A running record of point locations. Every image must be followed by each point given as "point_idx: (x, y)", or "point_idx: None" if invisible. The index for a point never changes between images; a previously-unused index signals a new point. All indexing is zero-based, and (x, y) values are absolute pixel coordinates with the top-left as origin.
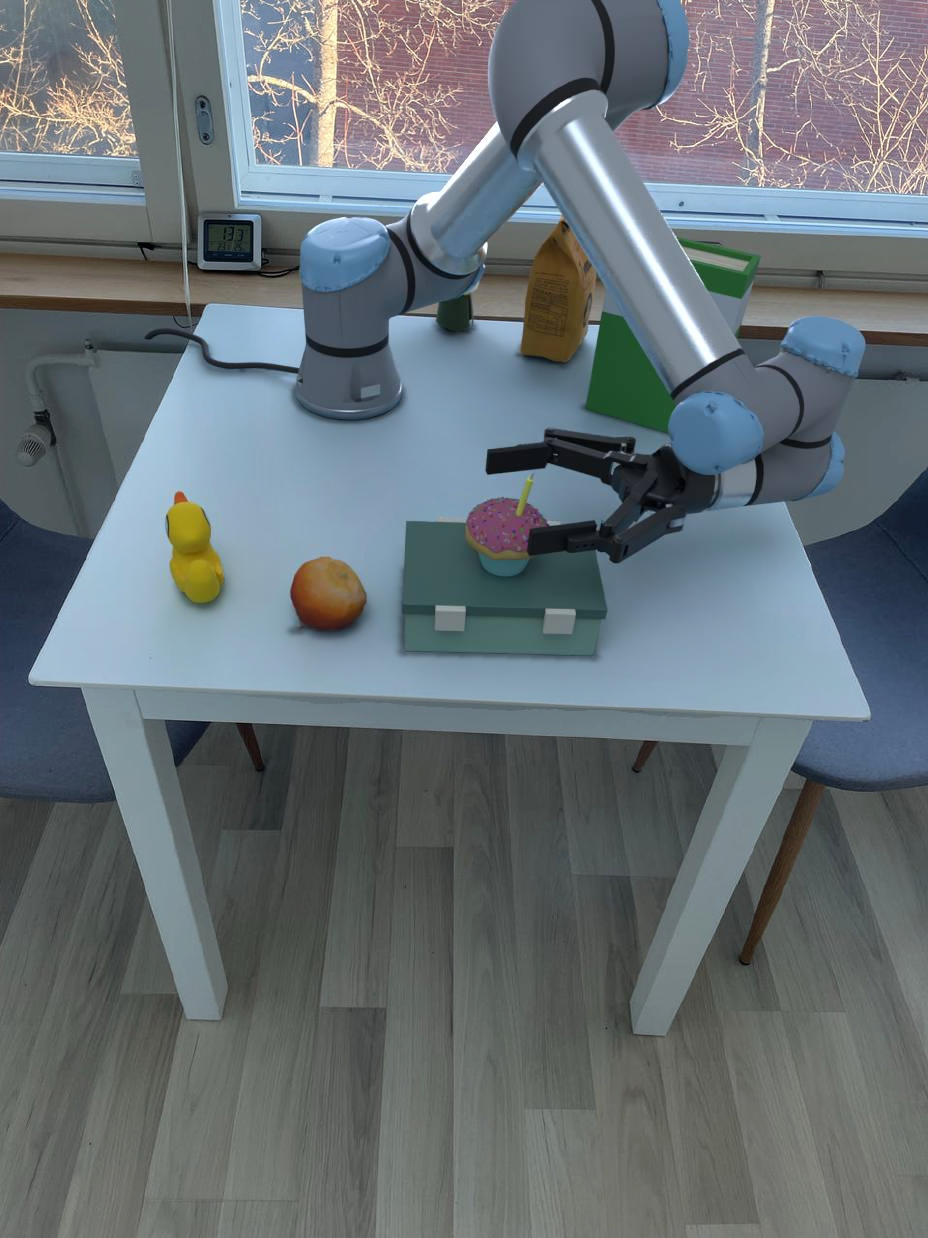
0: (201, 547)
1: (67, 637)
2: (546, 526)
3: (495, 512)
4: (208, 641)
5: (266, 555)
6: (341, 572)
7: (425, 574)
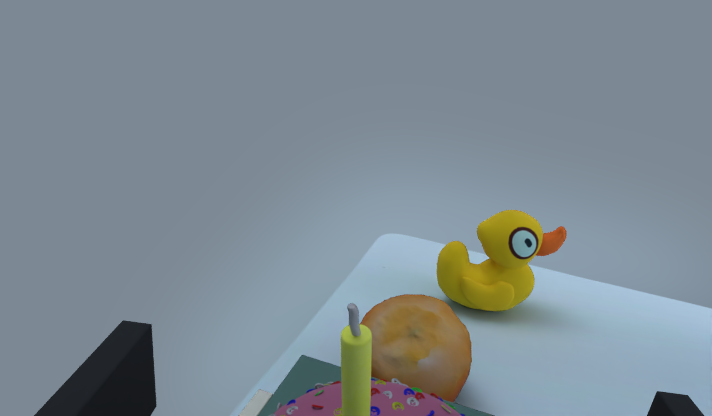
0: (486, 250)
1: (423, 241)
2: (117, 368)
3: (383, 403)
4: (394, 296)
5: (547, 363)
6: (420, 331)
7: None
